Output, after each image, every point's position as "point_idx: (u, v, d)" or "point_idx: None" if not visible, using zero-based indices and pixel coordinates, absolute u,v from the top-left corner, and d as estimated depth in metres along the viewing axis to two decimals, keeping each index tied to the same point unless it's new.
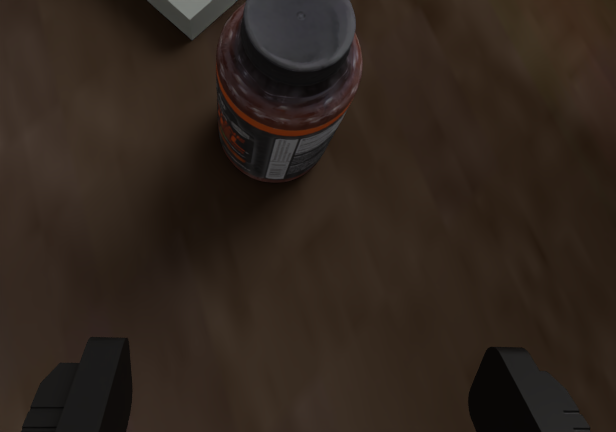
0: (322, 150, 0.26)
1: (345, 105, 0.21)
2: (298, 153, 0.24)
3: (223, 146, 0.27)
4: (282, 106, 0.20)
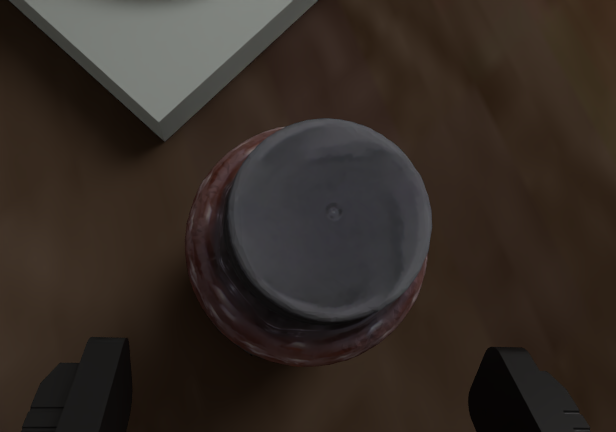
0: None
1: None
2: None
3: None
4: (295, 343, 0.11)
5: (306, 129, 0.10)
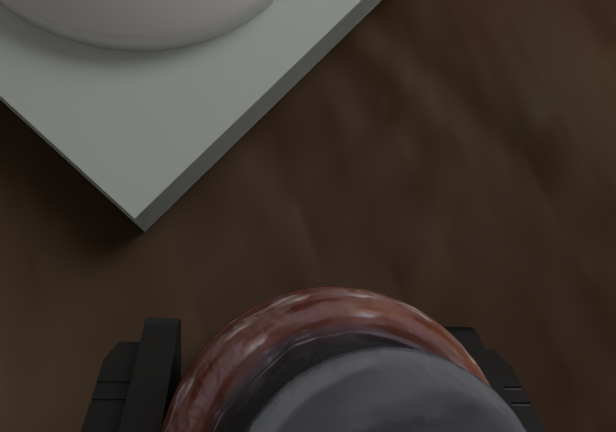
0: None
1: None
2: None
3: None
4: None
5: (346, 376, 0.06)
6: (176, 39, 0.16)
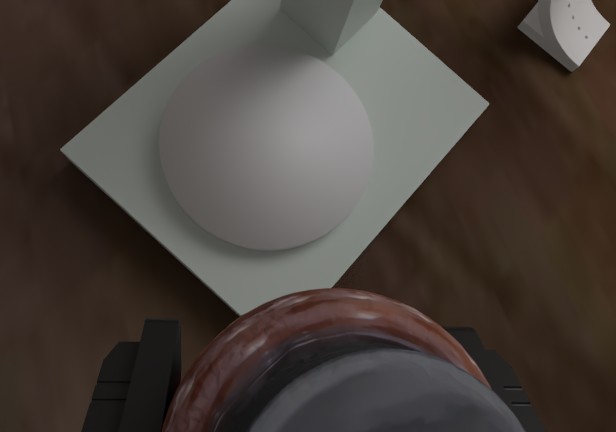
0: None
1: None
2: None
3: None
4: None
5: (346, 378, 0.06)
6: (297, 245, 0.29)
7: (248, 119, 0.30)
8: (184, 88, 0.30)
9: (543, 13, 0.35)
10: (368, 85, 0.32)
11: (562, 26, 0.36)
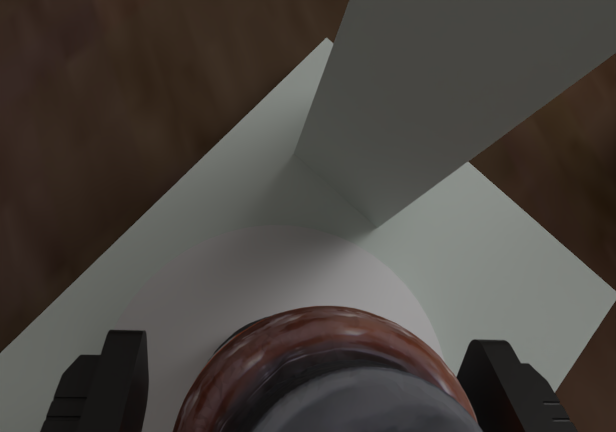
0: None
1: None
2: None
3: None
4: None
5: (330, 393, 0.07)
6: None
7: None
8: (137, 312, 0.18)
9: None
10: (434, 276, 0.21)
11: None
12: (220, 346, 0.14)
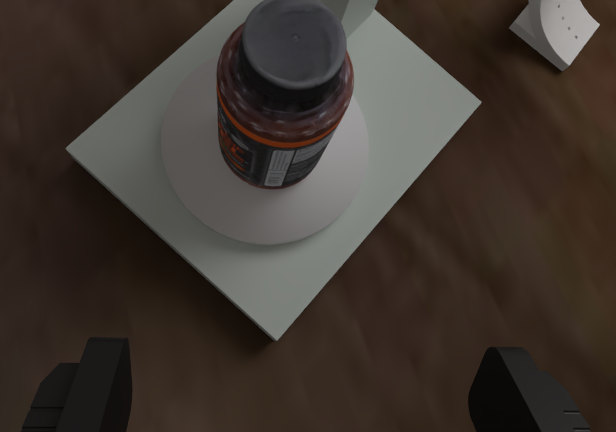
0: (318, 158, 0.27)
1: (338, 118, 0.22)
2: (295, 163, 0.25)
3: (223, 155, 0.29)
4: (279, 120, 0.21)
5: None
6: (295, 240, 0.30)
7: None
8: (185, 88, 0.31)
9: (533, 14, 0.36)
10: (363, 85, 0.33)
11: (552, 27, 0.37)
12: None
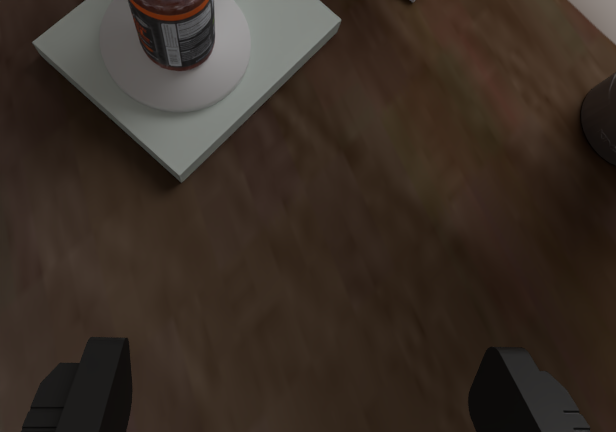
0: (203, 43, 0.40)
1: (200, 0, 0.35)
2: (181, 39, 0.38)
3: (141, 44, 0.41)
4: None
5: None
6: (194, 108, 0.43)
7: None
8: (118, 2, 0.43)
9: None
10: (252, 5, 0.46)
11: None
12: None
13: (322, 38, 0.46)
